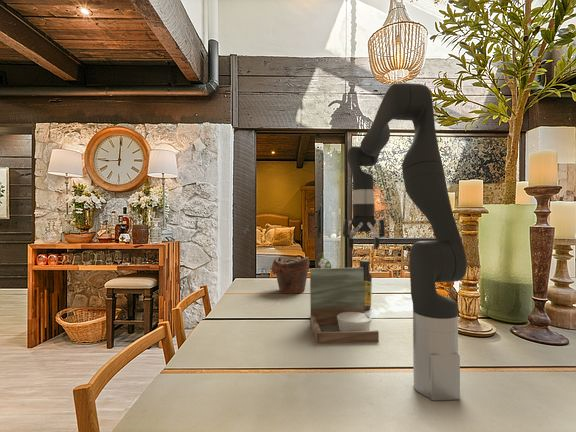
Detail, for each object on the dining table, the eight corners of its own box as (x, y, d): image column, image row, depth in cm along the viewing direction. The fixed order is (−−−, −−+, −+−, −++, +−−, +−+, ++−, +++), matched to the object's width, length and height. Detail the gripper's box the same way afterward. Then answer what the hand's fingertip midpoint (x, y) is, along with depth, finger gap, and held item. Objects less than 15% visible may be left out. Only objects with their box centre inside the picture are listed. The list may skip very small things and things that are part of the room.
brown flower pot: (267, 288, 177) (267, 254, 177) (303, 285, 183) (303, 253, 183) (276, 296, 160) (276, 259, 160) (315, 293, 166) (315, 257, 166)
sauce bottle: (355, 309, 137) (355, 261, 136) (356, 305, 143) (355, 259, 143) (372, 310, 135) (371, 261, 135) (371, 306, 141) (371, 259, 141)
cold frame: (378, 341, 103) (378, 276, 103) (317, 343, 102) (316, 277, 102) (363, 323, 120) (362, 267, 120) (310, 324, 119) (310, 268, 119)
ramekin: (375, 338, 106) (374, 322, 106) (339, 338, 106) (339, 322, 106) (367, 326, 117) (367, 311, 117) (335, 326, 117) (335, 311, 117)
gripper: (345, 202, 113) (345, 250, 113) (386, 202, 114) (387, 250, 114) (341, 203, 121) (341, 248, 121) (380, 203, 121) (380, 248, 121)
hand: (363, 249), depth 117 cm, fingers open, 8 cm apart
